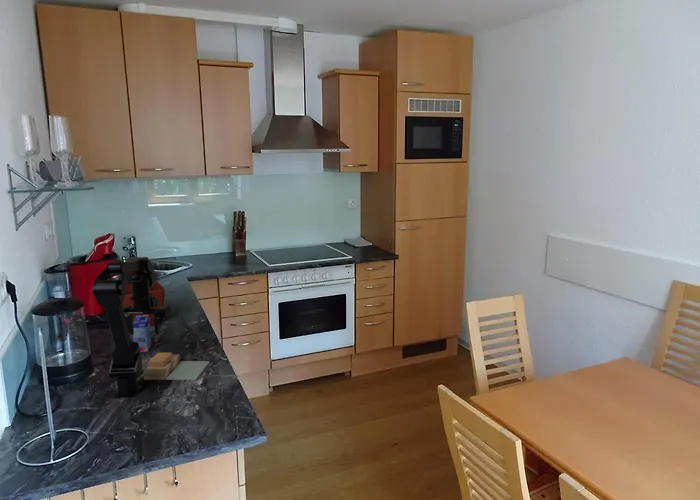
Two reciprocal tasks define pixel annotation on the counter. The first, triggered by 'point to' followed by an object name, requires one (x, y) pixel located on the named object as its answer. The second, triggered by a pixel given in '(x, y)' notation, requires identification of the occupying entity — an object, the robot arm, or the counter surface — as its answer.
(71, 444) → the counter surface
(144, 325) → the ink cartridge box
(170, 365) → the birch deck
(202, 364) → the sage mat
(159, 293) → the plant pot
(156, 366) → the orange block
